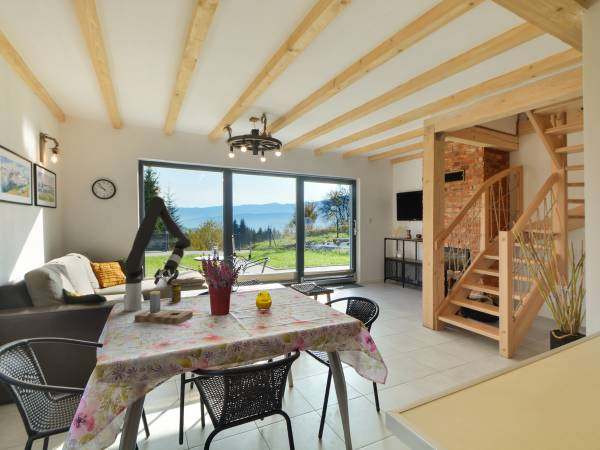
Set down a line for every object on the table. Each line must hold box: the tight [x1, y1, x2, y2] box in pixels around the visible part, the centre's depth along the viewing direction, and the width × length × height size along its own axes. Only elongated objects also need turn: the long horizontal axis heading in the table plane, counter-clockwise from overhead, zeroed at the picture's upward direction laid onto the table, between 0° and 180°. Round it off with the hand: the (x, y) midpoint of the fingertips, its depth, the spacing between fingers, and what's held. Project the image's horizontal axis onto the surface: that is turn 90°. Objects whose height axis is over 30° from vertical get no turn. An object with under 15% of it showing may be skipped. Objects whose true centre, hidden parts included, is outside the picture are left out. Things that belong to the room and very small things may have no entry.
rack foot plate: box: [134, 308, 194, 325], centre depth 185 cm, size 28×14×3 cm, turn 79°
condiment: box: [166, 283, 183, 304], centre depth 225 cm, size 7×8×12 cm
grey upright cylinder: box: [149, 290, 161, 313], centre depth 186 cm, size 4×4×12 cm
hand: (161, 284), depth 192 cm, fingers open, 8 cm apart
